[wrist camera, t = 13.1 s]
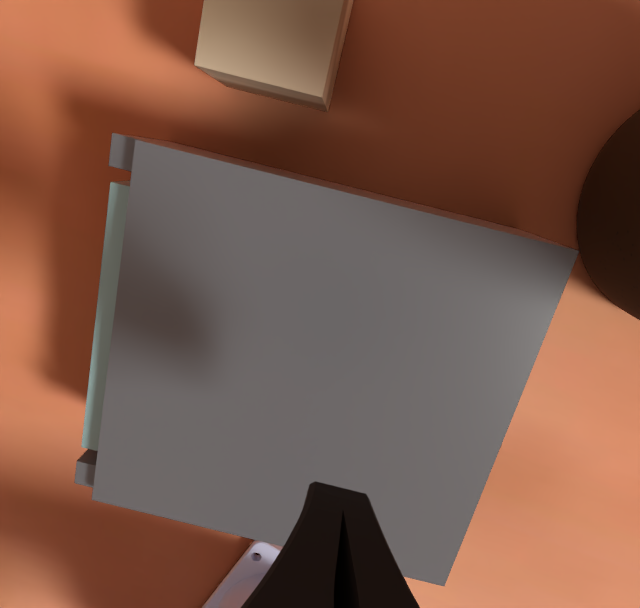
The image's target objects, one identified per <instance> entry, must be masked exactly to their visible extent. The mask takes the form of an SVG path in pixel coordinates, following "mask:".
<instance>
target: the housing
mask: <svg viewBox="0 0 640 608" xmlns="http://www.w3.org/2000/svg"><path fill="white" fill-rule="evenodd" d="M109 166H112V167H115V168H119V169H123V170H127V171H131V180H130V189H129V197H128V205H127V213H126V222H125V230H124V238H123V246H122V254H121V263H120V271H119V279H118V287H117V296H116V304H115V312H114V320H113V329H112V337H111V345H110V353H109V362H108V370H107V378H106V386H105V395H104V403H103V411H102V419H101V428H100V436H99V444H98V451H95V450H91V449H88V450H87V451H86V452H85V453H84V454H83V455H82V456H81V457H80V458H79V459H78V460H77V464H76V474H75V483H76V484H80V485H85V486H89V487H93V493H92V500H95V501H99V502H103V503H107V504H111V505H115V506H119V507H123V508H127V509H131V510H135V511H139V512H143V513H148V514H152V515H156V516H160V517H164V518H168V519H172V520H176V521H180V522H184V523H188V524H192V525H196V526H200V527H205V528H209V529H213V530H217V531H221V532H225V533H229V534H233V535H237V536H241V537H245V538H249V539H253V540H257V541H262V542H266V543H270V544H274V545H278V546H282V547H283V546H284V545H285V543H286V541H287V540H288V538H289V536H290V534H291V532H292V530H293V528H294V526H295V525H296V523H297V521H298V519H299V516H300V514H301V512H302V509H303V506H304V502H305V499H306V495H307V491H308V488H309V484H311V483H313V482H315V481H316V482H320V483H324V484H329V485H333V486H337V487H341V488H345V489H349V490H353V491H357V492H361V493H365V494H367V496H368V498H369V499H370V502H371V505H372V507H373V510H374V512H375V515H376V518H377V520H378V522H379V525H380V527H381V530H382V532H383V534H384V537H385V539H386V541H387V543H388V546H389V548H390V550H391V552H392V554H393V556H394V559H395V561H396V563H397V565H398V567H399V569H400V571H401V573H402V575H403V576H404V577H408V578H412V579H416V580H420V581H424V582H428V583H432V584H436V585H441V586H445V583H446V581H447V578H448V576H449V573H450V571H451V568H452V566H453V563H454V561H455V558H456V556H457V553H458V551H459V548H460V546H461V543H462V541H463V539H464V536H465V534H466V531H467V529H468V526H469V524H470V521H471V519H472V516H473V514H474V511H475V509H476V506H477V504H478V501H479V499H480V496H481V494H482V491H483V489H484V486H485V484H486V481H487V479H488V476H489V474H490V472H491V469H492V467H493V464H494V462H495V459H496V457H497V454H498V452H499V449H500V447H501V444H502V442H503V439H504V437H505V434H506V432H507V429H508V427H509V424H510V422H511V419H512V417H513V414H514V412H515V409H516V407H517V405H518V402H519V400H520V397H521V395H522V392H523V390H524V387H525V385H526V382H527V380H528V377H529V375H530V372H531V370H532V367H533V365H534V362H535V360H536V357H537V355H538V352H539V350H540V347H541V345H542V342H543V340H544V338H545V335H546V333H547V330H548V328H549V325H550V323H551V320H552V318H553V315H554V313H555V310H556V308H557V305H558V303H559V300H560V298H561V295H562V293H563V290H564V288H565V285H566V283H567V280H568V278H569V275H570V273H571V271H572V268H573V266H574V263H575V261H576V258H577V256H578V253H579V251H578V250H575V249H572V248H570V247H567V246H564V245H561V244H559V243H556V242H553V241H551V240H548V239H545V238H542V237H540V236H537V235H534V234H531V233H529V232H526V231H523V230H520V229H517V228H513V227H509V226H505V225H501V224H497V223H493V222H489V221H485V220H481V219H477V218H473V217H469V216H465V215H461V214H457V213H453V212H449V211H445V210H441V209H437V208H433V207H429V206H425V205H421V204H417V203H413V202H409V201H405V200H401V199H397V198H393V197H389V196H385V195H381V194H377V193H373V192H369V191H365V190H361V189H358V188H354V187H350V186H346V185H342V184H338V183H334V182H330V181H326V180H322V179H318V178H314V177H310V176H306V175H302V174H298V173H294V172H290V171H286V170H282V169H278V168H274V167H270V166H266V165H262V164H258V163H254V162H250V161H246V160H242V159H238V158H234V157H230V156H226V155H222V154H218V153H214V152H210V151H206V150H202V149H198V148H194V147H190V146H186V145H182V144H178V143H174V142H170V141H166V140H159V139H152V138H145V137H138V136H131V135H125V134H118V133H112V139H111V148H110V157H109Z"/></svg>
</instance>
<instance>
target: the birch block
mask: <svg viewBox="0 0 640 608" xmlns="http://www.w3.org/2000/svg"><path fill="white" fill-rule="evenodd" d="M353 1H354V0H204V3H203V10H202V16H201V23H200V30H199V36H198V43H197V50H196V57H195V63H194V65H195V66H196V67H198V68H199V69H201V70H202V71H204V72H206V73H207V74H209V75H210V76H212V77H213V78H215V79H216V80H218V81H219V82H221V83H222V84H224V85H225V86H227V87H231V88H234V89H238V90H242V91H246V92H250V93H254V94H258V95H262V96H266V97H270V98H274V99H278V100H282V101H286V102H290V103H294V104H298V105H302V106H306V107H310V108H314V109H318V110H322V111H326V112H328V110H329V106H330V102H331V97H332V93H333V89H334V84H335V80H336V75H337V71H338V67H339V62H340V58H341V54H342V49H343V45H344V40H345V36H346V32H347V27H348V23H349V19H350V14H351V10H352V5H353Z"/></svg>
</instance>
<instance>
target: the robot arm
mask: <svg viewBox="0 0 640 608" xmlns="http://www.w3.org/2000/svg"><path fill="white" fill-rule="evenodd" d="M254 553H259V554H260V555H255V554H254ZM202 608H420V607H419V605H418V603H417V602H416V600H415V598H414V596H413V594H412V593H411V591H410V589H409V587H408V585H407V583H406V581H405V579H404V577H403V575H402V573H401V571H400V569H399V567H398V565H397V563H396V561H395V559H394V556H393V554H392V552H391V550H390V548H389V546H388V543H387V541H386V539H385V537H384V534H383V532H382V530H381V527H380V525H379V522H378V520H377V518H376V515H375V512H374V510H373V507H372V505H371V502H370V499H369V498H368V496H367V494H365V493H361V492H357V491H353V490H349V489H345V488H341V487H337V486H333V485H329V484H324V483H320V482H316V481H315V482H313V483H311V484H309V488H308V491H307V495H306V499H305V502H304V506H303V509H302V512H301V514H300V516H299V519H298V521H297V523H296V525H295V526H294V528H293V530H292V532H291V534H290V536H289V538H288V540H287V541H286V543H285V545H284V546H283V547H282V546H278V545H274V544H270V543H266V542H262V541H257V540H254V541H253V542H252V544H251V545H250V546H249V548H248V549H247V550H246V551H245V553H244V554H243V555H242V557H241V558H240V559H239V560H238V562H237V563H236V564H235V566H234V567H233V568H232V569H231V571H230V572H229V573H228V574H227V576H226V577H225V578H224V580H223V581H222V582H221V583H220V585H219V586H218V587H217V589H216V590H215V591H214V592H213V594H212V595H211V596H210V598H209V599H208V600H207V601H206V603H205V604H204V605H203V607H202Z"/></svg>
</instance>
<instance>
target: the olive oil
mask: <svg viewBox="0 0 640 608" xmlns="http://www.w3.org/2000/svg"><path fill="white" fill-rule="evenodd" d="M577 236H578V244H579V249H580V253H581V256H582V259H583V262H584V265H585V267H586V269H587V271H588V273H589V275H590V277H591V278H592V280H593V282H594V283H595V284H596V286H597V287H598V288H599V289H600V291H601V292H602V293H603V294H604V295H605V296H606V297H607V298H608V299H609V300H610V301H612V302H613V303H614V304H615V305H617V306H618V307H619V308H621V309H622V310H624V311H625V312H627V313H629V314H630V315H632V316H634V317H635V318H637V319H639V320H640V110H639V111H638V112H636V113H635V114H634V115H633V116H632V117H630V118H629V119H628V120H627V121H626V122H625V123H624V124H623V125H622V126H621V127H620V128H619V129H618V130H617V131H616V132H615V133H614V134H613V136H612V137H611V138H610V139H609V140H608V142H607V143H606V144H605V146H604V147H603V149H602V150H601V152H600V153H599V155H598V156H597V158H596V160H595V162H594V163H593V165H592V167H591V169H590V171H589V174H588V176H587V178H586V181H585V184H584V187H583V190H582V193H581V197H580V201H579V207H578V215H577Z"/></svg>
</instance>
